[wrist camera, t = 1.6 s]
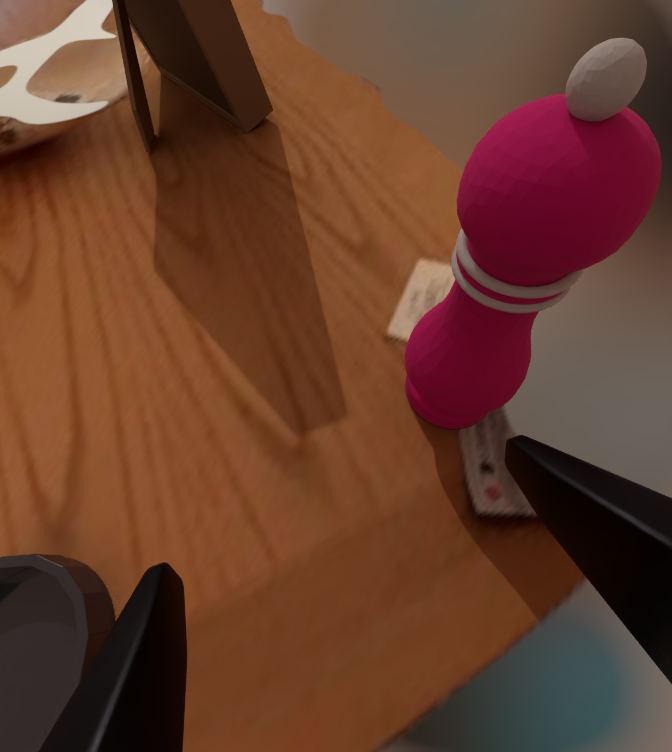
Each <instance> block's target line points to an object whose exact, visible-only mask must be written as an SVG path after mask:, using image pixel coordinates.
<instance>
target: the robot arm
mask: <svg viewBox="0 0 672 752" xmlns="http://www.w3.org/2000/svg"><path fill="white" fill-rule="evenodd" d="M505 465H506V467H507V469H508V471H509V472H510V474H511V475H512V477H513V478H514V480H515V482H516V483H517V485H518V486H519V488H520V489H521V491H522V492H523V494H524V495H525V497H526V499H527V500H528V502H529V503H530V505H531V506H532V508H533V509H534V511H535V512H536V514H537V515H538V517H539V518H540V520H541V521H542V522H543V524H544V525H545V526H546V528H547V529H548V530H549V531H550V533H551V534H552V535H553V536H554V538H555V539H556V540H557V541H558V543H559V544H560V545H561V546H562V548H563V549H564V550H565V551H566V553H567V554H568V555H569V556H570V558H571V559H572V560H573V561H574V563H575V564H576V565H577V566H578V568H579V569H580V570H581V571H582V573H583V574H584V575H585V576H586V578H587V579H588V580H589V581H590V583H591V584H592V585H593V586H594V587H595V589H596V590H597V591H598V592H599V594H600V595H601V596H602V597H603V599H604V600H605V601H606V602H607V604H608V605H609V606H610V608H611V609H612V610H613V611H614V612H615V614H616V615H617V616H618V617H619V619H620V620H621V621H622V622H623V624H624V625H625V626H626V627H627V629H628V630H629V631H630V633H631V634H632V635H633V636H634V637H635V639H636V640H637V641H638V642H639V644H640V645H641V646H642V647H643V649H644V650H645V651H646V652H647V654H648V655H649V656H650V657H651V659H652V660H653V661H654V662H655V664H656V665H657V666H658V668H659V669H660V670H661V671H662V672H663V674H664V675H665V676H666V677H667V679H668V680H669V681H670V682H671V683H672V498H670V497H668V496H665V495H663V494H660V493H658V492H656V491H653V490H651V489H649V488H646V487H644V486H642V485H639V484H637V483H635V482H632V481H630V480H627V479H625V478H623V477H620V476H618V475H615V474H613V473H611V472H608V471H606V470H604V469H601V468H599V467H597V466H595V465H592V464H590V463H588V462H585V461H583V460H581V459H578V458H576V457H573V456H571V455H569V454H566V453H564V452H562V451H559V450H557V449H555V448H552V447H550V446H548V445H545V444H543V443H541V442H538V441H536V440H533V439H531V438H529V437H526V436H523V435H519V436H516V437H513V438H510V439H508V440H507V442H506V449H505ZM186 674H187V638H186V619H185V599H184V586H183V582H182V579H181V578H180V577H179V575H178V574H177V573H176V572H175V571H174V570H173V568H172V567H171V566H170V565H169V564H168V563H165V562H164V563H161V564H158V565H155V566H152V567H150V568H149V569H148V570H147V571H146V572H145V573H144V575H143V577H142V578H141V580H140V582H139V584H138V585H137V587H136V589H135V590H134V592H133V594H132V595H131V597H130V599H129V600H128V602H127V604H126V605H125V607H124V609H123V610H122V612H121V614H120V615H119V617H118V619H117V620H116V622H115V624H114V625H113V627H112V629H111V630H110V632H109V634H108V636H107V637H106V639H105V641H104V642H103V644H102V646H101V647H100V649H99V651H98V652H97V654H96V656H95V657H94V659H93V661H92V662H91V664H90V666H89V667H88V669H87V671H86V672H85V674H84V676H83V677H82V679H81V681H80V683H79V684H78V686H77V688H76V689H75V691H74V693H73V694H72V696H71V698H70V699H69V701H68V703H67V704H66V706H65V708H64V709H63V711H62V713H61V714H60V716H59V718H58V719H57V721H56V723H55V724H54V726H53V728H52V729H51V731H50V733H49V735H48V736H47V738H46V740H45V741H44V743H43V745H42V746H41V748H40V750H39V751H38V752H182V751H183V731H184V712H185V693H186Z"/></svg>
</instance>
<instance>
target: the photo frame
mask: <svg viewBox="0 0 672 752" xmlns="http://www.w3.org/2000/svg"><path fill="white" fill-rule="evenodd" d="M112 2H113V8H114V13H115V19H116V24H117V30H118V35H119V41H120V46H121V52H122V57H123V63H124V68H125V74H126V79H127V85H128V90H129V96H130V101H131V107H132V111H133V114H134V117H135V120H136V123H137V126H138V129H139V132H140V134H141V137H142V140H143V143H144V146H145V149H146V152H151V147H152V141H153V136H154V129H153V125H152V120H151V116H150V111H149V107H148V103H147V98H146V94H145V89H144V85H143V81H142V76H141V72H140V67H139V63H138V58H137V54H136V50H135V45H134V41H133V36H132V32H131V28H130V25H131V26H132V28H133V29H134V31H135V33H136V34H137V36H138V38H139V39H140V41H141V42H142V44H143V46H144V47H145V49H146V50H147V52H148V54H149V55H150V57H151V59H152V60H153V62H154V63H155V65H156V67H157V68H158V70H159V71H160V73H161V74H162V75H164V76H165V77H167V78H168V79H169V80H171V81H172V82H174V83H175V84H177V85H178V86H179V87H181V88H182V89H184V90H185V91H186V92H188V93H189V94H191V95H192V96H194V97H195V98H196V99H198V100H199V101H201V102H202V103H204V104H205V105H206V106H208V107H209V108H211V109H212V110H214V111H215V112H216V113H218V114H219V115H221V116H222V117H223V118H225V119H226V120H228V121H229V122H231V123H232V124H233V125H235V126H236V127H238V128H239V129H241V130H242V131H243V132H245V133H246V134H247V133H248V132H249V131H250V130H252V129H253V128H254V127H255V126H256V125H257V124H258V123H259V122H261V121H262V120H263V119H264V118H265V117H266V116H267V115H268V114H270V113H271V112H272V111H273V108H272V106H271V103H270V101H269V98H268V95H267V93H266V90H265V88H264V85H263V83H262V80H261V77H260V75H259V72H258V70H257V67H256V65H255V62H254V59H253V57H252V54H251V52H250V49H249V47H248V44H247V41H246V39H245V36H244V34H243V31H242V29H241V26H240V23H239V21H238V18H237V16H236V13H235V11H234V8H233V5H232V3H231V0H112Z"/></svg>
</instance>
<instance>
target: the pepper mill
mask: <svg viewBox="0 0 672 752" xmlns="http://www.w3.org/2000/svg"><path fill="white" fill-rule="evenodd" d="M646 65H647V61H646V57H645V54H644V50H643V48H642V47H641V46H640V45H638V44H637V43H636V42H635V41H634V40H631V39H626V38H616V39H609V40H607V41H605V42H603V43H601V44H599V45H597V46H595V47H594V48H592V49H591V50H590V51H588V52H587V53H586V54H585V55H584V56H583V57H582V58H581V59H580V60H579V62H578V63H577V64H576V66H575V67H574V69H573V71H572V72H571V74H570V76H569V79H568V82H567V85H566V92H565V94H559V95H552V96H549V97H545V98H541V99H537V100H535V101H532V102H529V103H527V104H524V105H522V106H521V107H519V108H517V109H516V110H514V111H512V112H510V113H509V114H507V115H506V116H504V117H503V118H502V119H500V120H499V121H497V122H496V123H495V125H494V126H493V127H492V128H491V129H490V130H489V131H488V132H487V133H486V135H485V136H484V137H483V138H482V139H481V140H480V141H479V142H478V144H477V145H476V147H475V149H474V151H473V153H472V155H471V157H470V158H469V160H468V162H467V164H466V166H465V169H464V172H463V175H462V178H461V181H460V185H459V191H458V197H457V214H458V217H459V220H460V223H461V226H462V229H461V230H460V233H459V235H458V238H457V244H456V247H455V249H454V251H453V254H452V261H451V265H452V271H453V274H454V277H455V279H456V280H455V282H454V284H453V286H452V288H451V290H450V292H449V294H448V295H447V297H446V298H445V299H444V300H443V301H442V302H441V303H439V304H438V305H436V306H435V307H434V308H432V309H431V310H430V311H429V312H427V313H426V314H425V315H424V316H423V317H422V319H421V320H420V321H419V322H418V324H417V325H416V326H415V327H414V329H413V331H412V333H411V335H410V338H409V341H408V343H407V346H406V351H405V368H406V371H407V377H406V384H405V388H406V395H407V398H408V400H409V402H410V404H411V406H412V407H413V409H414V410H415V411H416V412H417V414H418V415H420V416H421V417H422V418H423V419H425V420H426V421H428V422H429V423H431V424H433V425H436V426H439V427H443V428H448V429H461V428H465V427H469V426H471V425H473V424H476V423H477V422H479V421H480V420H482V419H483V418H484V417H485V416H486V415H487V413H488V412H490V411H493V410H495V409H498V408H500V407H501V406H503V405H504V404H505V403H507V402H508V401H509V400H510V399H511V398H512V397H513V396H514V395H515V393H516V392H517V390H518V389H519V387H520V386H521V384H522V382H523V381H524V379H525V377H526V374H527V370H528V367H529V363H530V358H531V339H530V337H531V329H532V325H533V322H534V319H535V317H536V315H537V314H538V312H539V311H541V310H544V309H546V308H549V307H551V306H553V305H555V304H556V303H558V302H559V301H560V300H561V299H563V298H564V297H565V295H566V294H567V293H568V291H569V290H570V287H571V286H572V285H573V284H574V283H575V282H576V281H577V280H578V278H579V277H580V276H581V274H582V272H583V269H585V268H587V267H589V266H592V265H593V264H596V263H598V262H600V261H602V260H604V259H605V258H607V257H608V256H610V255H611V254H613V253H615V252H616V251H617V250H618V249H619V248H620V247H621V246H622V245H623V244H624V243H625V242H626V241H627V240H628V239H629V238H630V237H631V235H632V234H633V233H634V231H635V230H636V229H637V227H638V226H639V225H640V223H641V222H642V221H643V219H644V218H645V216H646V214H647V213H648V211H649V209H650V207H651V204H652V202H653V200H654V197H655V195H656V192H657V189H658V186H659V182H660V174H661V173H660V172H661V156H660V151H659V146H658V142H657V141H656V139H655V137H654V135H653V134H652V132H651V130H650V129H649V127H648V126H647V124H646V123H645V121H644V120H642V119H641V118H640V117H639V116H638V115H637V114H636V113H635V112H633V111H632V110H630V109H629V108H627V107H626V106H627V105H628V104H629V103H630V102H631V101H632V99H633V98H634V97H635V96H636V94H637V92H638V91H639V89H640V87H641V85H642V83H643V81H644V78H645V74H646Z"/></svg>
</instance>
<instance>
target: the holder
mask: <svg viewBox="0 0 672 752" xmlns="http://www.w3.org/2000/svg"><path fill="white" fill-rule="evenodd" d="M114 624H115V619H114V610H113V606H112V601H111V598H110V595H109V593H108V590H107V588H106V586H105V585H104V583H103V581H102V580H101V578H100V577H99V576H98V575H97V574H96V573H95V571H93V570H92V569H91V568H90V567H88V566H87V565H85V564H83V563H82V562H80V561H77V560H74V559H71V558H66V557H63V556H61V555H43V554H31V555H19V556H7V557H1V558H0V752H38V751H39V750H40V748H41V746H42V745H43V743H44V741H45V740H46V738H47V736H48V735H49V733H50V731H51V729H52V728H53V726H54V724H55V723H56V721H57V719H58V718H59V716H60V714H61V713H62V711H63V709H64V708H65V706H66V704H67V703H68V701H69V699H70V698H71V696H72V694H73V693H74V691H75V689H76V688H77V686H78V684H79V683H80V681H81V679H82V677H83V676H84V674H85V672H86V671H87V669H88V667H89V666H90V664H91V662H92V661H93V659H94V657H95V656H96V654H97V652H98V651H99V649H100V647H101V646H102V644H103V642H104V641H105V639H106V637H107V636H108V634H109V632H110V630H111V629H112V627H113V625H114Z"/></svg>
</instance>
